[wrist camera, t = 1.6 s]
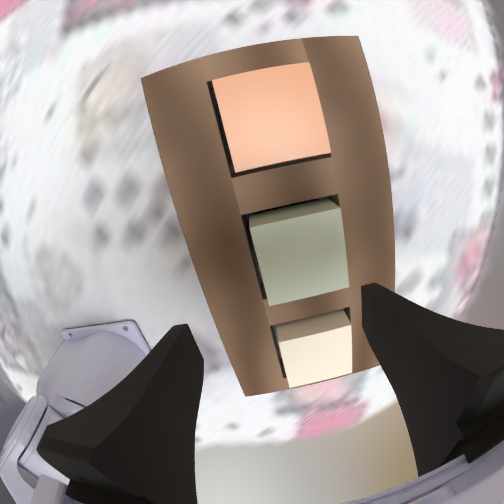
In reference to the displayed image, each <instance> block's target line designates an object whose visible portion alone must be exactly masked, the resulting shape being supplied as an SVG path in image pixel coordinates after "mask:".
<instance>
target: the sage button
mask: <svg viewBox="0 0 504 504" xmlns="http://www.w3.org/2000/svg"><path fill="white" fill-rule="evenodd" d="M249 227H250V232H251V236H252V240H253V244H254V248H255V252H256V256H257V260H258V264H259V267H260V271H261V275H262V279H263V283H264V287H265V291H266V295H267V299H268V303H269V306H272V305H277V304H281V303H286V302H290V301H295V300H299V299H303V298H308V297H312V296H316V295H320V294H324V293H328V292H332V291H336V290H340V289H344V288H348V287H349V279H348V267H347V256H346V247H345V238H344V230H343V222H342V214H341V208H340V207H339V206H338V205H336V204H335V203H334V202H332V201H331V200H330V199H328V198H327V199H323V200H318V201H313V202H308V203H304V204H299V205H294V206H290V207H285V208H281V209H276V210H272V211H267V212H263V213H259V214H254V215H250V216H249Z"/></svg>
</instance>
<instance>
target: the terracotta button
mask: <svg viewBox="0 0 504 504" xmlns="http://www.w3.org/2000/svg"><path fill="white" fill-rule="evenodd" d="M212 83H213V87H214V91H215V95H216V99H217V102H218V106H219V110H220V114H221V118H222V122H223V126H224V130H225V134H226V138H227V141H228V145H229V149H230V153H231V157H232V161H233V165H234V169H235V173H236V172H240V171H244V170H248V169H253V168H257V167H261V166H266V165H270V164H275V163H280V162H284V161H289V160H294V159H299V158H305V157H310V156H315V155H321V154H327V153H331V149H330V144H329V139H328V134H327V130H326V125H325V121H324V116H323V112H322V108H321V104H320V100H319V96H318V92H317V88H316V84H315V80H314V77H313V73H312V69H311V66H310V63H309V62H304V63H296V64H289V65H282V66H276V67H270V68H264V69H259V70H253V71H249V72H244V73H239V74H235V75H231V76H226V77H222V78H218V79H215V80H212Z"/></svg>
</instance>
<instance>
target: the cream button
mask: <svg viewBox="0 0 504 504" xmlns="http://www.w3.org/2000/svg"><path fill="white" fill-rule="evenodd" d="M276 330H277V337H278V343H279V347H280V351H281V356H282V360H283V364H284V368H285V372H286V376H287V380H288V384H289V388H292V387H296V386H301V385H306V384H310V383H314V382H319V381H323V380H327V379H331V378H334V377H338V376H342V375H346V374H349V373H352V330H351V323H350V321H349V319H348V317H347V315H346V313H345V311H344V310H343V309H339V310H335V311H331V312H327V313H323V314H319V315H315V316H311V317H306V318H302V319H298V320H293V321H289V322H284V323H280V324H276Z"/></svg>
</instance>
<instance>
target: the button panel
mask: <svg viewBox="0 0 504 504" xmlns="http://www.w3.org/2000/svg"><path fill="white" fill-rule="evenodd" d="M304 62H309V63H310V66H311V69H312V73H313V77H314V80H315V84H316V88H317V92H318V96H319V100H320V104H321V108H322V112H323V116H324V121H325V125H326V130H327V134H328V139H329V144H330V149H331V153H327V154H321V155H318V156H312V157H307V158H302V159H296V160H291V161H286V162H282V163H277V164H272V165H268V166H263V167H259V168H254V169H250V170H246V171H242V172H238V173H234V174H233V170H232V166H231V162H230V158H229V154H228V150H227V146H226V143H225V139H224V135H223V131H222V127H221V123H220V119H219V115H218V111H217V108H216V104H215V100H214V96H213V92H212V89H214V87H213V83H212V80H215V79H218V78H222V77H226V76H231V75H235V74H239V73H244V72H249V71H253V70H259V69H264V68H270V67H276V66H282V65H289V64H296V63H304ZM141 81H142V86H143V90H144V95H145V99H146V103H147V108H148V112H149V116H150V120H151V124H152V128H153V132H154V136H155V139H156V143H157V147H158V151H159V154H160V158H161V162H162V165H163V169H164V172H165V176H166V179H167V183H168V186H169V189H170V193H171V196H172V199H173V203H174V206H175V209H176V212H177V216H178V219H179V222H180V225H181V228H182V231H183V234H184V237H185V240H186V243H187V246H188V249H189V252H190V255H191V258H192V261H193V264H194V267H195V270H196V273H197V276H198V278H199V281H200V284H201V287H202V290H203V292H204V295H205V298H206V300H207V303H208V306H209V308H210V311H211V314H212V316H213V319H214V322H215V324H216V327H217V329H218V332H219V334H220V337H221V340H222V342H223V345H224V347H225V350H226V352H227V354H228V357H229V359H230V362H231V364H232V367H233V369H234V371H235V374H236V376H237V378H238V381H239V383H240V385H241V388H242V390H243V392H244V395H245V397H246V396H253V395H259V394H265V393H271V392H277V391H282V390H287V389H292V388H297V387H302V386H306V385H311V384H315V383H319V382H323V381H327V380H331V379H335V378H339V377H342V376H346V375H350V374H353V373H357V372H360V371H363V370H366V369H370V368H373V367H376V366H379V365H380V363H379V362H378V360H377V358H376V356H375V354H374V353H373V351H372V349H371V347H370V345H369V343H368V340H367V338H366V335H365V333H364V330H363V327H362V301H361V286H363V285H367V284H370V283H374V282H375V283H377V284H380V285H381V286H383V287H385V288H387V289H389V290H391V291H393V292H394V293H395V239H394V219H393V205H392V194H391V184H390V175H389V168H388V160H387V153H386V147H385V141H384V135H383V130H382V124H381V119H380V114H379V110H378V105H377V101H376V96H375V92H374V88H373V84H372V80H371V77H370V73H369V69H368V66H367V62H366V59H365V56H364V52H363V49H362V46H361V43H360V40H359V37H358V36H328V37H312V38H301V39H291V40H283V41H276V42H269V43H263V44H257V45H252V46H247V47H242V48H237V49H232V50H228V51H224V52H220V53H216V54H212V55H208V56H204V57H201V58H197V59H194V60H191V61H187V62H184V63H181V64H178V65H175V66H172V67H169V68H166V69H164V70H161V71H158V72H155V73H153V74H150V75H148V76H145V77H143V78H141ZM326 196H328V198H329V199H330V200H331V201H332V202H334V203H335V204H336V205H338V206H339V207H340V208H341V214H342V222H343V230H344V238H345V247H346V256H347V267H348V279H349V287H348V288H344V289H340V290H336V291H332V292H328V293H324V294H320V295H316V296H312V297H308V298H303V299H299V300H295V301H290V302H286V303H281V304H277V305H272V306H269V303H268V299H267V295H266V291H265V287H264V283H263V281H262V282H261V279H260V275H259V272H258V268H257V264H256V260H255V256H254V252H253V248H252V244H251V240H250V236H249V232H248V228H247V225H246V221H245V217H244V214H248V213H253V212H257V211H261V210H266V209H270V208H274V207H279V206H283V205H288V204H292V203H297V202H302V201H306V200H311V199H316V198H321V197H326ZM339 309H343V310H344V311H345V313H346V315H347V317H348V319H349V321H350V323H351V330H352V373H349V374H346V375H342V376H338V377H334V378H331V379H327V380H323V381H319V382H314V383H310V384H306V385H301V386H296V387H292V388H289V384H288V380H287V376H286V372H285V368H284V364H283V360H282V358H280V354H279V350H278V346H277V342H276V338H275V334H274V331H273V327H272V325H275V324H280V323H284V322H289V321H293V320H298V319H302V318H306V317H311V316H315V315H319V314H323V313H327V312H331V311H335V310H339Z"/></svg>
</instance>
